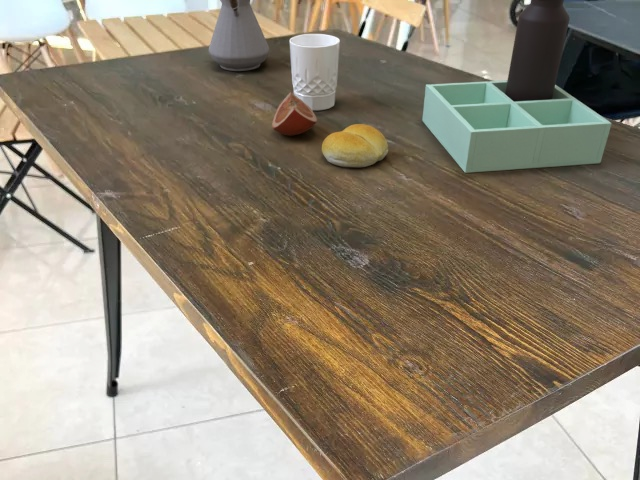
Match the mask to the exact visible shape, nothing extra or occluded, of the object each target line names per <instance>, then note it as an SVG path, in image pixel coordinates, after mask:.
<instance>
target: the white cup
mask: <svg viewBox="0 0 640 480" xmlns="http://www.w3.org/2000/svg"><path fill="white" fill-rule="evenodd" d="M340 45H341V40H340V38H339V37H337V36H334V35H331V34H324V33H304V34H298V35H295V36H292V37H291V38H289V56H290V72H291V82H292V84H291V85H292V87H293V88H292V89H293V94H295V96H297V97H298V98H299V99H301V100H302V101H303V102H304V103H305V104H306V105H308V106H309V107H310V108H311V109H312V111H313V112H314V111H316V112H317V111H325V110H329V109H331V108H333V107H334V106H335V104H336V93H337V87H338V77H339V62H340V48H341V47H340Z"/></svg>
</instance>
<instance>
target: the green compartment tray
mask: <svg viewBox="0 0 640 480" xmlns="http://www.w3.org/2000/svg"><path fill="white" fill-rule="evenodd" d="M507 81H508V79H507V80H489V81H471V82H470V81H469V82H453V83H452V82H450V83H433V84H425V91H424V101H423V110H422V120H421V121H422V122H423V124H424V126H426V127H427V129H428V130H429V131H430V132H431V133H432V135H434V137H435V138H436V139H437V141H438V142H439V143H440V144H441V146H442V147H443V148H444V149H445V150H446V151H447V153H448V154H449V155H450V157H451V158H452V159H453V160H454V161H455V162H456V164H457V165H458V166H459V167H460V169H461V170H462V171H463V172H464V173H465V174H469V173H470V174H471V173H481V172H482V173H484V172H498V171H511V170H524V169H525V170H527V169H539V168H540V169H541V168H551V167H566V166H567V167H568V166H579V165H580V166H581V165H593V164H601V162H602V159H603V155H604V152H605V148H606V146H607V141H608V138H609V134H610V130H611V128H612V124H613V123H612V122H610V121H609V120H608V119H607V118H605V117H603V116H602V115H600V114H599V113H597V112H596V111H595V110H593V109H592V108H590V107H589V106H587V105H586V104H585V103H583V102H581V101H580V100H579V99H577V98H576V97H574V96H572V95H571V94H570V93H568V92H567V91H566V90H564V89H563V88H561V87H560V86H558V85H557V84H555V88H554V93H553V97H552V100H534V101H516V102H514V101H513V100H511V99H510V98H509V97H508V96H507V95H505V92H506V86H507Z"/></svg>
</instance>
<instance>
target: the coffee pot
mask: <svg viewBox="0 0 640 480" xmlns="http://www.w3.org/2000/svg"><path fill="white" fill-rule="evenodd" d="M219 1H220V2H221V6H220V10H219V14H218V17H217V20H216V24H215V26H214V30H213V33H212V36H211V39H210V43H209V47H208V54H209V56H210V57H211V60H213V61H214V62H215V64H218V65H219V67H220V68H221V69H223V70H227V71H234V72H242V71H243V72H245V71H251V70H255V69H258V68H259V67H260V66H261V64H262V63H263V62H265V61H266V59H268V56H269V53H270V50H271V48H270V46H269V44H268V41H267V39H266V37H265V35H264V32H263V30H262V28H261V26H260V23H259V22H258V19H257V17H256V14H255V12H254V10H253V7H252V5H251V0H219Z"/></svg>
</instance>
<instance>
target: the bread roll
mask: <svg viewBox="0 0 640 480" xmlns="http://www.w3.org/2000/svg"><path fill="white" fill-rule="evenodd" d="M388 152H389V144H388V141H387V138H386V137H385V136H384V134H383V133H382V132H381V131H380V129H378V128H375V127H374V126H372V125H368V124H365V123H355V124H354V123H353V124H351V125H348V126H347V127H345V128H344V129H343V130H342V131H334V132H332V133H330V134H329V135H327V136H326V137H325V138H324V140H323V141H322V143H321V153H322V155H323V156H324V158H325V159H326V161H327V162H329V163H331V164H332V165H334V166H338V167H343V168H366V167H369V166H371V165H375V164H376V163H377V162H380V161H382V160H383V159H385V157H386V156H387V154H388Z"/></svg>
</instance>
